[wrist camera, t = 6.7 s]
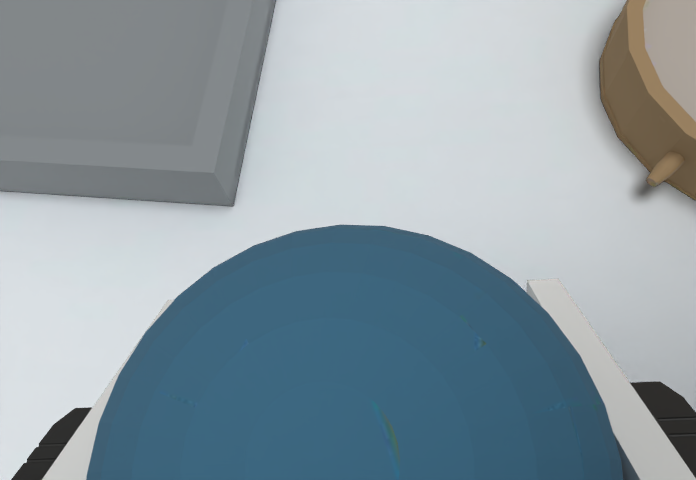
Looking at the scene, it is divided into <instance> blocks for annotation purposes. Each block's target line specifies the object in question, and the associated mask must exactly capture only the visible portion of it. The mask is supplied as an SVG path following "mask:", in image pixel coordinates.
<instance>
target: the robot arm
mask: <svg viewBox="0 0 696 480" xmlns="http://www.w3.org/2000/svg"><path fill="white" fill-rule="evenodd" d="M527 294H528V295H529V296H531V297H532V298H533V299H534V300H535V301H536V302H537V303H538V304H539V305H540V306H541V307H542V308H543V309H545V310H546V311H547V312H548V313H549V315H550V316H551V317H552V319H553V320H554V321H555V323H556V324H557V325H558V327H559V328H560V329H561V331H562V332H563V333H564V335H565V336H566V337H567V339H568V340H569V341H570V342H571V344H572V345H573V346H574V348H575V349H576V350H577V352H578V353H579V354H580V356H581V358H582V360H583V362H584V364H585V366H586V368H587V370H588V372H589V374H590V376H591V378H592V380H593V382H594V384H595V386H596V388H597V390H598V392H599V394H600V396H601V398H602V400H603V402H604V404H605V407H606V410H607V414H608V417H609V420H610V424H611V427H612V431H613V434H614V437H615V441H616V444H617V448H618V451H619V454H620V458H621V463H622V472H623V480H696V412H695V411H694V410H693V409H692V407H691V406H690V405H689V404H688V402H687V401H686V400H685V399H684V397H682V396H681V395H679V394H678V393H676V392H675V391H673V390H672V389H670V388H669V387H667V386H666V385H664V384H663V383H661V382H637V383H630V382H629V381H628V379H627V378H626V376H625V375H624V373H623V372H622V371H621V369H620V368H619V366H618V365H617V363H616V362H615V360H614V359H613V357H612V356H611V355H610V353H609V352H608V350H607V349H606V347H605V346H604V344H603V343H602V342H601V340H600V339H599V337H598V336H597V334H596V333H595V331H594V330H593V328H592V327H591V326H590V324H589V323H588V321H587V320H586V318H585V317H584V315H583V314H582V312H581V311H580V310H579V308H578V307H577V305H576V304H575V302H574V301H573V299H572V298H571V296H570V295H569V294H568V292H567V291H566V289H565V288H564V286H563V285H562V283H561V282H560V280H559V279H544V280H527ZM173 301H174V300H168V301H167V302H166V304H165V305H164V306H163V308H162V309H161V311H160V312H159V314H158V315H157V316H156V318H155V319H154V321H153V322H152V324H151V325H150V326H149V328H150V327H151V326H152V325H153V323H154V322H155V321H156V320H157V319H158V318H159V317H160V316H161V314H162V313H163V312H164V311H165V310H166V309H167V308H168V307H169V305H170V304H171V303H172V302H173ZM149 328H148V329H149ZM148 329H147V330H148ZM144 334H145V333H144ZM142 337H143V336H142ZM141 339H142V338H141ZM141 339H140V340H141ZM139 342H140V341H139ZM139 342H138V343H139ZM138 343H137V345H138ZM137 345H136V346H135V348H136V347H137ZM135 348H134V349H133V351H134V350H135ZM133 351H132V352H131V353H130V355H129V356H128V358H127V359H126V361H125V362H124V363H123V365H122V366H121V368H120V369H119V371H118V372H117V373H116V375H115V376H114V378H113V379H112V380H111V382H110V383H109V385H108V386H107V388H106V389H105V390H104V392H103V393H102V395H101V396H100V398H99V399H98V400H97V402H96V403H95V405H94V406H93V408H75V409H74V410H72V411H71V412H70V413H68V414H67V415H66V416H64V417H63V418H62V419H60V420H59V421H58V422H56V423H55V424H54V425H53V426H52V427H51V429H50V430H49V431H48V432H47V434H46V435H45V436H44V438H43V439H42V440H41V442H40V443H39V447H36V448H35V449H34V451H33V452H32V453H31V455H30V456H29V457H28V459H27V463H24V464H23V465H22V466H21V468H20V469H19V470H18V472H17V473H16V474H15V476H14V477H13V478H12V479H11V480H86V476H87V472H88V467H89V463H90V459H91V454H92V450H93V446H94V441H95V437H96V433H97V428H98V424H99V421H100V418H101V416H102V414H103V411H104V409H105V406H106V404H107V402H108V399H109V397H110V394H111V392H112V390H113V387H114V385H115V382H116V380H117V378H118V375H119V374H120V372H121V370H122V369H123V367H124V366H125V364H126V362H127V361H128V359H129V358H130V356H131V355H132V353H133Z"/></svg>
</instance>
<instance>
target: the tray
mask: <svg viewBox="0 0 696 480" xmlns="http://www.w3.org/2000/svg"><path fill="white" fill-rule="evenodd" d="M275 2H276V0H0V191H12V192H27V193H43V194H58V195H73V196H88V197H103V198H118V199H134V200H149V201H164V202H179V203H194V204H209V205H225V206H233V204H234V200H235V195H236V190H237V185H238V180H239V176H240V171H241V166H242V161H243V156H244V151H245V147H246V142H247V137H248V132H249V127H250V122H251V118H252V113H253V108H254V103H255V98H256V94H257V89H258V84H259V79H260V74H261V69H262V65H263V60H264V55H265V50H266V45H267V40H268V36H269V31H270V26H271V21H272V16H273V12H274V7H275Z"/></svg>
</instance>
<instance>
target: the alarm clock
mask: <svg viewBox="0 0 696 480" xmlns="http://www.w3.org/2000/svg"><path fill="white" fill-rule="evenodd" d="M600 86H601V100H602V103H603V105H604V108H605V110H606V112H607V115H608V117H609V119H610V121H611V124H612V126H613V128H614V130H615V132H616V134H617V137H618V138H619V139H620V140H621V141H622V142H623V143H624V144H625V146H626V147H627V148H628V149H629V150H630V151H631V152H632V153H633V154H634V155H635V156H636V157H637V159H638V160H639V161H640V162H641V163H642V164H643V165H644V166H645V167H646V168H647V169H648V171H649V172H651V173H650V174H649V176H648V177H647V179H646V181H647V183H648V184H650V185H651V186H654V187H656V186H657V185H659V184H660V183H662V182H663V181H665V182H667V183H668V184H670V185H671V186H673V187H674V188H676V189H678V190H679V191H681V192H682V193H684V194H686V195H687V196H689V197H690V198H692V199H694V200H696V0H627V1H626V3H625V5H624V7H623V9H622V11H621V13H620V15H619V17H618V18H617V19H616V20H615V22H614V24H613V26H612V29H611V32H610V34H609V37H608V40H607V42H606V45H605V48H604V50H603V53H602V56H601V58H600Z"/></svg>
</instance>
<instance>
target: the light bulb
mask: <svg viewBox="0 0 696 480" xmlns="http://www.w3.org/2000/svg"><path fill="white" fill-rule="evenodd" d="M86 480H623V472H622V463H621V458H620V454H619V451H618V448H617V444H616V441H615V437H614V434H613V431H612V427H611V424H610V420H609V417H608V414H607V410H606V407H605V404H604V402H603V400H602V398H601V396H600V394H599V392H598V390H597V388H596V386H595V384H594V382H593V380H592V378H591V376H590V374H589V372H588V370H587V368H586V366H585V364H584V362H583V360H582V358H581V356H580V354H579V353H578V352H577V350H576V349H575V348H574V346H573V345H572V344H571V342H570V341H569V340H568V339H567V337H566V336H565V335H564V333H563V332H562V331H561V329H560V328H559V327H558V325H557V324H556V323H555V321H554V320H553V319H552V317H551V316H550V315H549V313H548V312H547V311H546V310H545V309H543V308H542V307H541V306H540V305H539V304H538V303H537V302H536V301H535V300H534V299H533V298H532V297H531V296H529V295H528V294H527V293H526V292H525V291H524V290H523V289H522V288H521V287H520V286H519V285H518V284H517V283H515V282H514V281H513V280H512V279H511V278H509V277H508V276H506V275H505V274H503V273H502V272H500V271H498V270H497V269H495V268H494V267H492V266H491V265H489V264H487V263H486V262H484V261H483V260H481V259H480V258H478V257H477V256H475V255H473V254H472V253H470V252H467V251H465V250H462V249H460V248H458V247H455V246H453V245H450V244H448V243H445V242H443V241H441V240H438V239H436V238H433V237H431V236H428V235H424V234H419V233H414V232H410V231H405V230H400V229H395V228H391V227H386V226H363V225H335V226H328V227H322V228H315V229H309V230H302V231H296V232H293V233H290V234H287V235H284V236H281V237H278V238H275V239H272V240H269V241H266V242H263V243H260V244H257V245H254V246H252V247H250V248H249V249H247V250H245V251H243V252H241V253H239V254H238V255H236V256H234V257H232V258H230V259H229V260H227V261H225V262H223V263H221V264H219V265H218V266H216V267H214V268H213V269H211V270H210V271H209V272H208V273H206V274H205V275H204V276H203V277H201V278H200V279H199V280H198V281H196V282H195V283H194V284H193V285H191V286H190V287H189V288H188V289H186V290H185V291H184V292H183V293H181V294H180V295H179V296H178V297H177V298H176V299H175V300H174V301H173V302H172V303H171V304H170V305H169V307H168V308H167V309H166V310H165V311H164V312H163V313H162V314H161V316H160V317H159V318H158V319H157V320H156V321H155V322H154V323H153V325H152V326H151V327H150V328H149V329H148V330H147V331H146V332H145V334H144V335H143V337H142V339H141V340H140V342H139V343H138V345H137V347H136V348H135V350H134V351H133V353H132V355H131V356H130V358H129V359H128V361H127V362H126V364H125V366H124V367H123V369H122V370H121V372H120V374H119V375H118V378H117V380H116V382H115V385H114V387H113V390H112V392H111V394H110V397H109V399H108V402H107V404H106V406H105V409H104V411H103V414H102V416H101V418H100V421H99V424H98V428H97V433H96V437H95V441H94V446H93V450H92V454H91V459H90V463H89V467H88V472H87V476H86Z"/></svg>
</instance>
